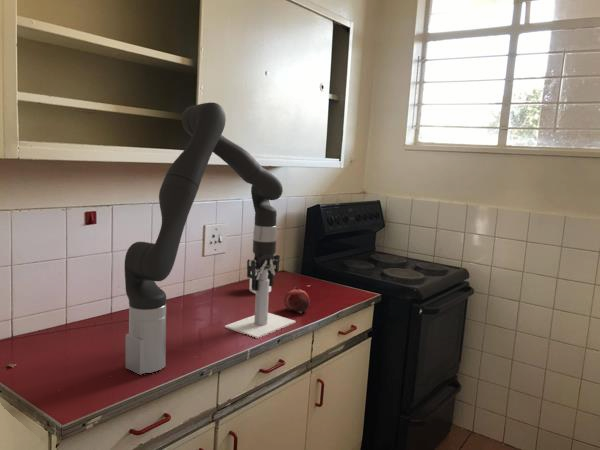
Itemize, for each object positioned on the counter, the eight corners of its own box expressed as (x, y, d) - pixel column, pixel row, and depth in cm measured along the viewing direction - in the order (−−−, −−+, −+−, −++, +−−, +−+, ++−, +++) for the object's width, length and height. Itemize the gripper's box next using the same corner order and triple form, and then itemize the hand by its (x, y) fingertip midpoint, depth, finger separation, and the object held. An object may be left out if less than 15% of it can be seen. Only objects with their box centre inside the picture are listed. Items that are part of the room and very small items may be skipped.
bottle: (263, 326, 165) (266, 267, 162) (252, 324, 167) (254, 265, 164) (269, 322, 169) (272, 264, 166) (257, 320, 171) (260, 262, 168)
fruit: (304, 317, 178) (306, 289, 177) (279, 313, 181) (281, 286, 180) (312, 309, 187) (314, 283, 185) (288, 305, 190) (290, 280, 188)
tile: (257, 338, 156) (257, 336, 156) (224, 327, 164) (224, 325, 164) (295, 322, 172) (295, 320, 172) (264, 313, 180) (264, 311, 180)
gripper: (259, 243, 156) (257, 294, 158) (287, 238, 167) (284, 286, 170) (241, 239, 160) (239, 290, 162) (269, 234, 171) (267, 281, 174)
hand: (262, 287), depth 166 cm, fingers open, 7 cm apart
